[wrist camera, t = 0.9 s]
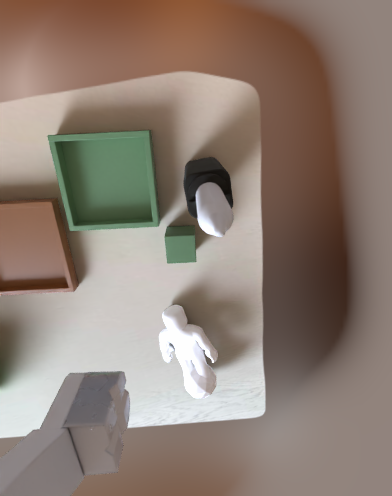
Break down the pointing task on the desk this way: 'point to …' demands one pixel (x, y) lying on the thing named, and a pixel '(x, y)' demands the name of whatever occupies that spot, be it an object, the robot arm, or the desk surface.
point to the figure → (189, 351)
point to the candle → (209, 195)
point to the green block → (180, 244)
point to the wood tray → (34, 249)
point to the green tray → (107, 179)
